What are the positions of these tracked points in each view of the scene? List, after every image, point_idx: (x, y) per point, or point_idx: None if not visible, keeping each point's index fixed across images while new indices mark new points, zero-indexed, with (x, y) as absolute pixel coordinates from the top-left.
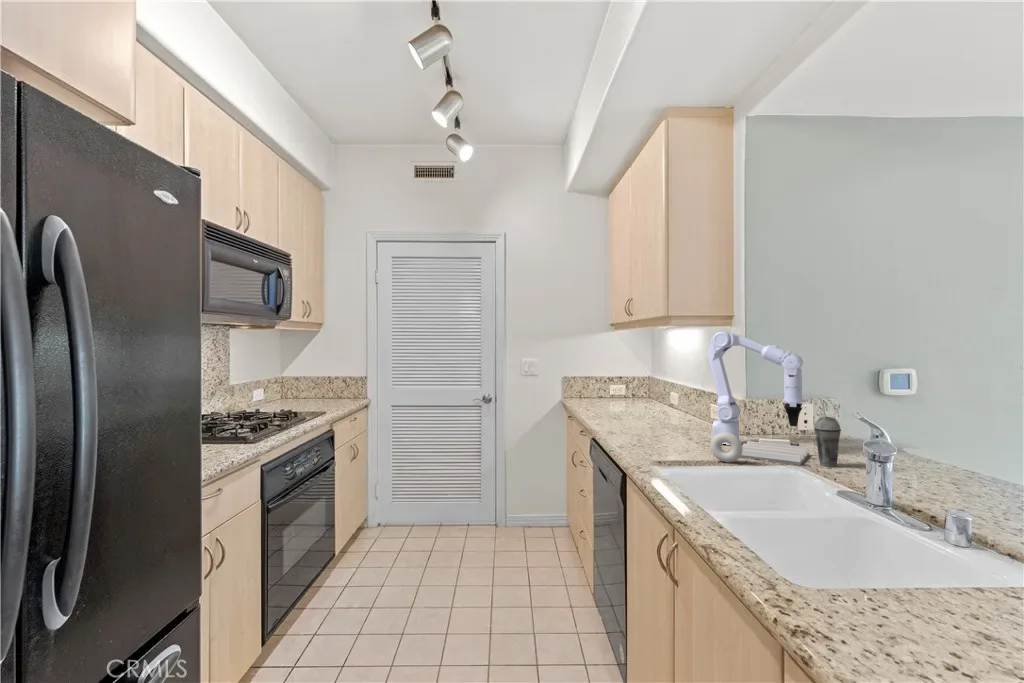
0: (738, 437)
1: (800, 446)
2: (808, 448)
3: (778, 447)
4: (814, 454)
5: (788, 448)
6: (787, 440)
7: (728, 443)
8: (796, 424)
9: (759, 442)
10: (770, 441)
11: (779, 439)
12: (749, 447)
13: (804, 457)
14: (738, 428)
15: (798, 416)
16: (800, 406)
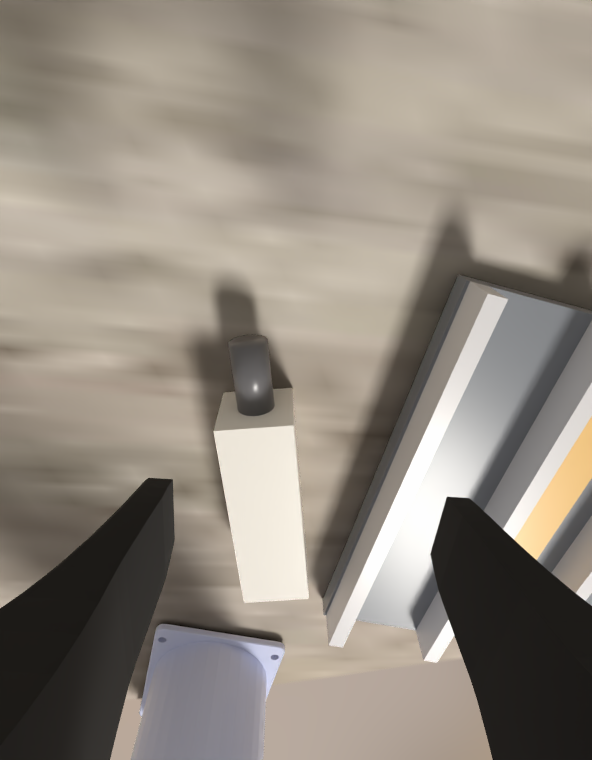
0: (226, 683)
1: (457, 360)
2: (501, 300)
3: (532, 505)
4: (406, 229)
5: (562, 449)
6: (252, 442)
7: (266, 682)
8: (486, 517)
9: (361, 594)
10: (303, 540)
11: (228, 492)
12: None
13: None
14: (213, 754)
15: (589, 606)
16: (33, 724)
